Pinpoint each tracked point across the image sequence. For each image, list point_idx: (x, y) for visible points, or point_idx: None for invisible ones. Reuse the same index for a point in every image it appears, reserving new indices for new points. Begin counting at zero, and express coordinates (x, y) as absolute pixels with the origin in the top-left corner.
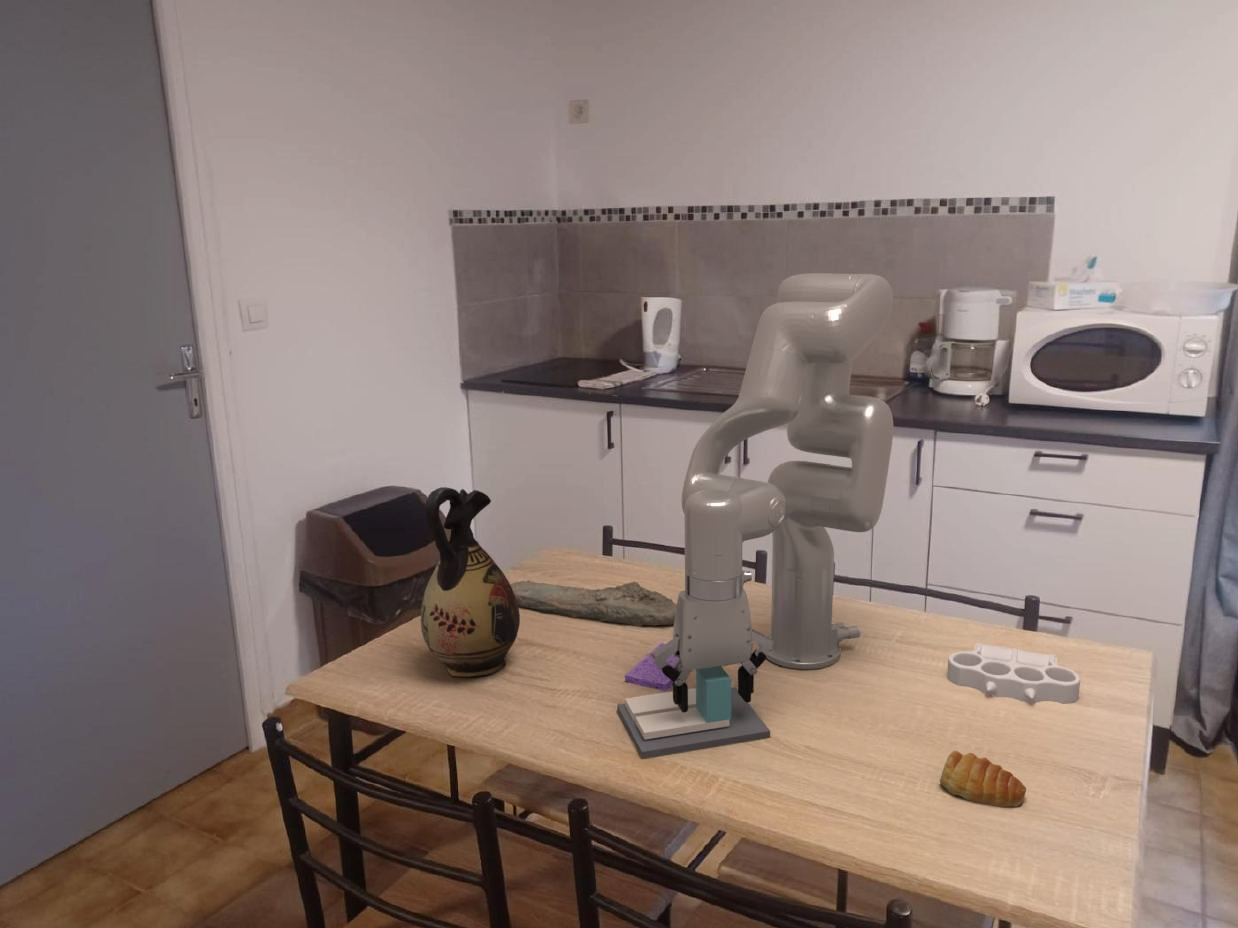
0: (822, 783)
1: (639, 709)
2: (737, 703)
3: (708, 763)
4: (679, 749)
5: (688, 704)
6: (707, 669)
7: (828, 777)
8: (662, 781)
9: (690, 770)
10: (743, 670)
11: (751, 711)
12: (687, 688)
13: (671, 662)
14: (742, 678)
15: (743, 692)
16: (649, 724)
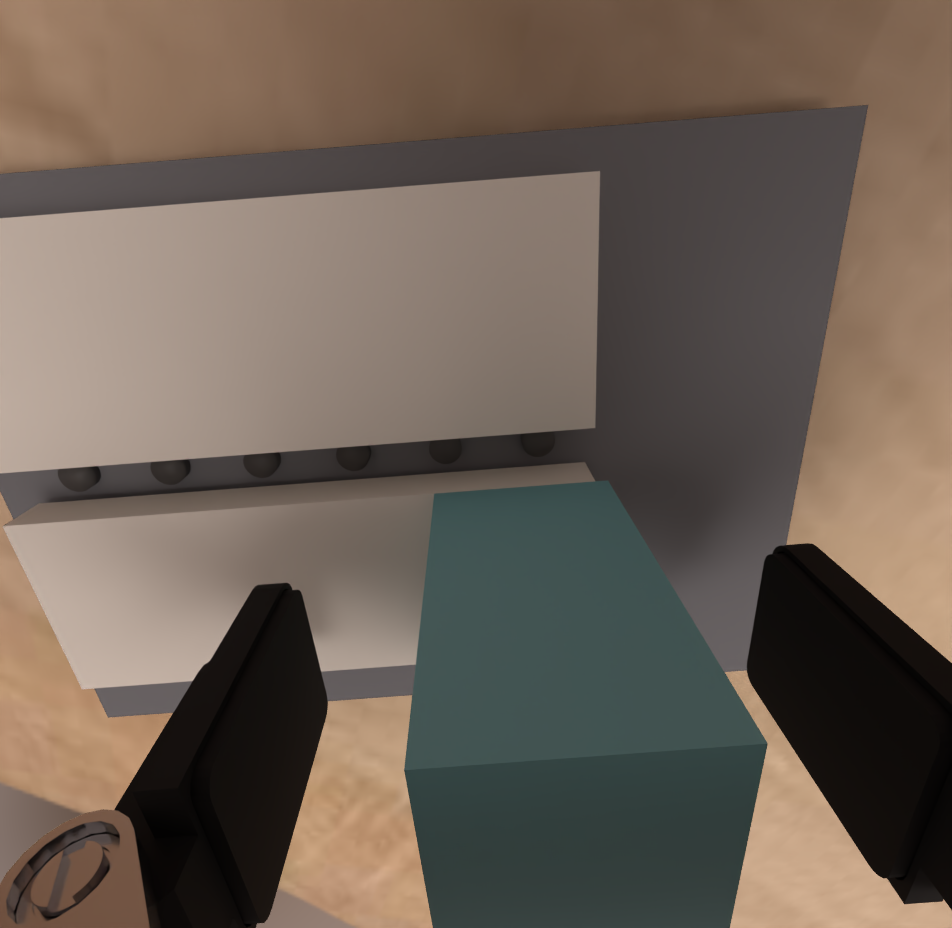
0: (753, 880)
1: (23, 428)
2: (747, 377)
3: None
4: None
5: (392, 434)
6: (546, 822)
7: (792, 862)
8: None
9: (332, 775)
10: (950, 850)
11: (777, 488)
12: (268, 907)
13: None
14: (864, 771)
15: (782, 684)
16: (109, 620)
